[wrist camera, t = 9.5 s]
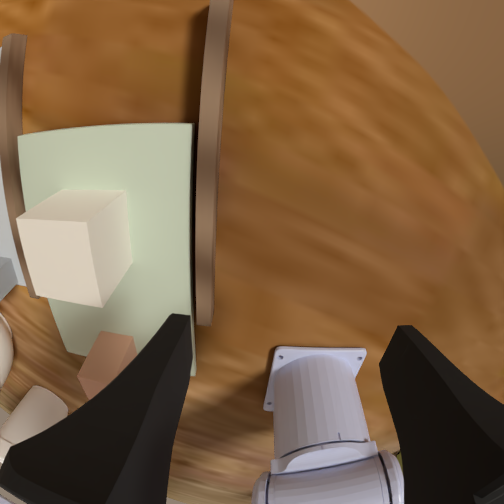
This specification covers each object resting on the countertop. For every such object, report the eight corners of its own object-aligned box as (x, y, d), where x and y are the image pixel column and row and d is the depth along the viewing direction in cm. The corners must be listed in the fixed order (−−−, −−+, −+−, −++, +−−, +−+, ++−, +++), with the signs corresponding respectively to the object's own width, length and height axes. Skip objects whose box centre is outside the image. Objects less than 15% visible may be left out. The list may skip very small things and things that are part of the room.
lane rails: (213, 310, 22) (210, 326, 21) (-6, 276, 22) (-16, 285, 20) (233, 0, 13) (230, -10, 11) (-31, 62, 12) (-45, 63, 10)
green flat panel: (196, 369, 25) (185, 425, 20) (70, 346, 25) (45, 390, 20) (195, 123, 16) (164, 134, 11) (24, 134, 16) (-35, 154, 10)
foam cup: (12, 373, 30) (-25, 440, 18) (53, 381, 29) (15, 463, 18) (46, 413, 34) (19, 476, 23) (89, 423, 33) (63, 496, 22)
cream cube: (132, 262, 19) (103, 308, 15) (72, 256, 19) (36, 295, 15) (126, 190, 17) (86, 222, 13) (61, 189, 17) (15, 218, 12)
